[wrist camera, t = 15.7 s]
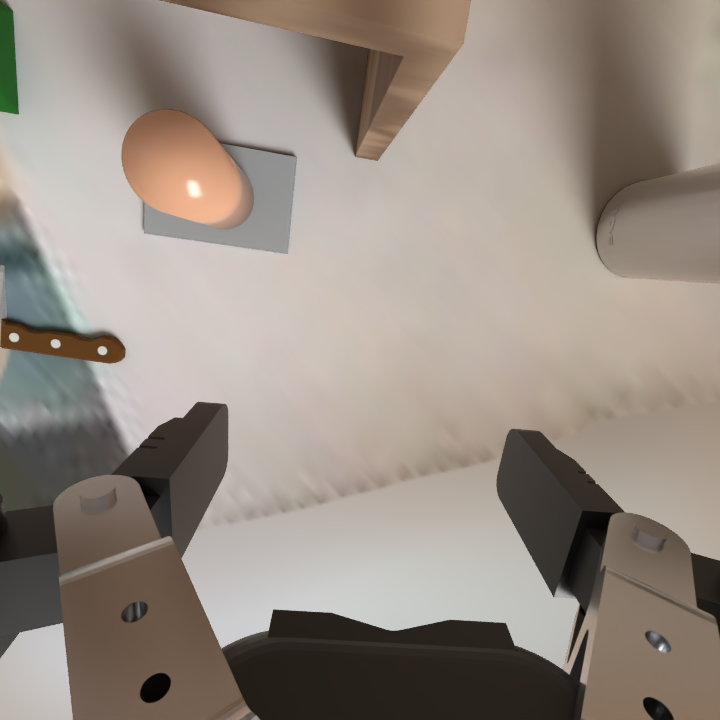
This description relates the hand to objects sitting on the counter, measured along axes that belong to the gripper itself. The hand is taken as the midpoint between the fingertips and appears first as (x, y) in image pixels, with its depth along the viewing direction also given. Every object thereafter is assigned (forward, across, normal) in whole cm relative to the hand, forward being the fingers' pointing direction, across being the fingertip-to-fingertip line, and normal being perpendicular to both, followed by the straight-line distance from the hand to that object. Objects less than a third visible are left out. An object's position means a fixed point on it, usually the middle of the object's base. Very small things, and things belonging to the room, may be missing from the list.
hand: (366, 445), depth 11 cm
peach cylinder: (+27, +12, -7) cm, 30 cm away
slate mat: (+27, +12, -7) cm, 31 cm away
